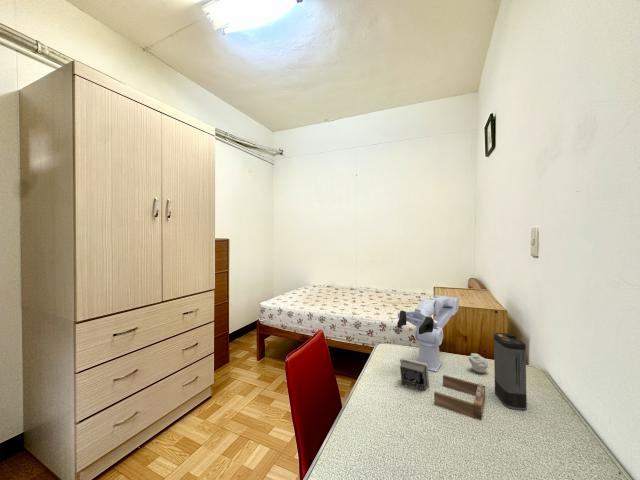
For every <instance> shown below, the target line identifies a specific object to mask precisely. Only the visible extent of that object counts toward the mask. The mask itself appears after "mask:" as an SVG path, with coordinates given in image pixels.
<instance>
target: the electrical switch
mask: <svg viewBox="0 0 640 480" xmlns="http://www.w3.org/2000/svg"><path fill="white" fill-rule="evenodd" d="M399 363H400V366H399V367H400V377H401V385H403V386H406V387H408V388H412V389H416V390H421V391H422V392H424V391H425V390H426V388H429V387H430V380H429V379H430V378H429V370H428V365H427V364H426V363H423V362H419V360H414V359H409V358H405V357H400V359H399Z"/></svg>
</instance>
